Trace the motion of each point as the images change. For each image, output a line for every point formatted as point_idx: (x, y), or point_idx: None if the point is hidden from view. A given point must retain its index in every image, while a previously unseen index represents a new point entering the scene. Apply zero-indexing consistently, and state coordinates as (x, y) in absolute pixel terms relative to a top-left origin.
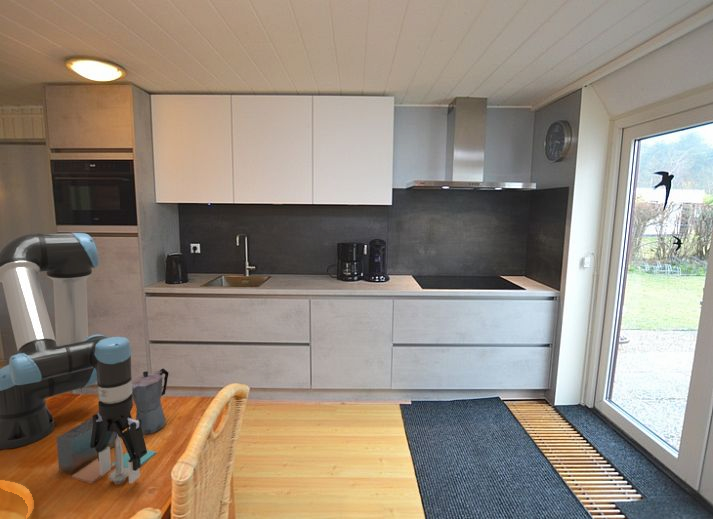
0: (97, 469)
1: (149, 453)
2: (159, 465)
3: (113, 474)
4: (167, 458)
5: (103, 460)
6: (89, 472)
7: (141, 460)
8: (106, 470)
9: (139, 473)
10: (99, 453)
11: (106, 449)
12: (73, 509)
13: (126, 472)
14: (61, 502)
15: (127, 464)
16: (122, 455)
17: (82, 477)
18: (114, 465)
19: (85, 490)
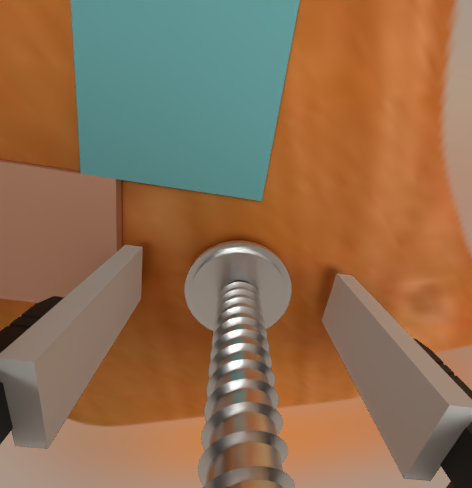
0: (54, 235)
1: (261, 8)
2: (385, 121)
3: (213, 312)
4: (412, 32)
5: (99, 348)
6: (36, 261)
7: (254, 110)
8: (137, 279)
9: (362, 286)
10: (32, 439)
11: (38, 396)
12: (177, 410)
13: (276, 288)
14: (103, 394)
15: (190, 165)
16: (277, 396)
17: (41, 295)
18: (116, 185)
19: (131, 339)
